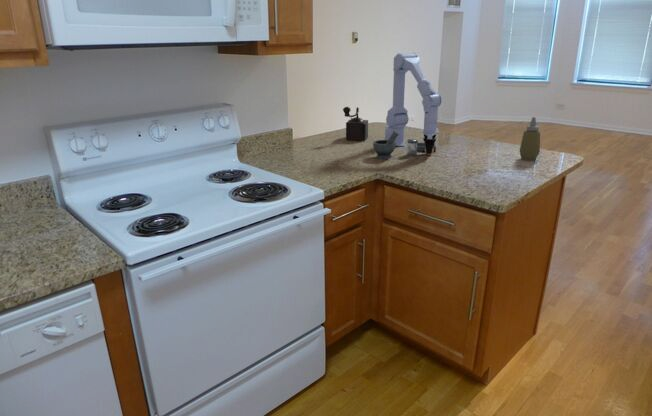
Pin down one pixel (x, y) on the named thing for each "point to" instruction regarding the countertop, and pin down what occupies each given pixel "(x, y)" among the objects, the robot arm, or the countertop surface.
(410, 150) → the shaker
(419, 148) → the dish
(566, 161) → the countertop surface
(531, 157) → the squeeze bottle
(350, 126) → the manual coffee grinder
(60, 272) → the countertop surface
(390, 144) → the mortar and pestle
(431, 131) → the robot arm
